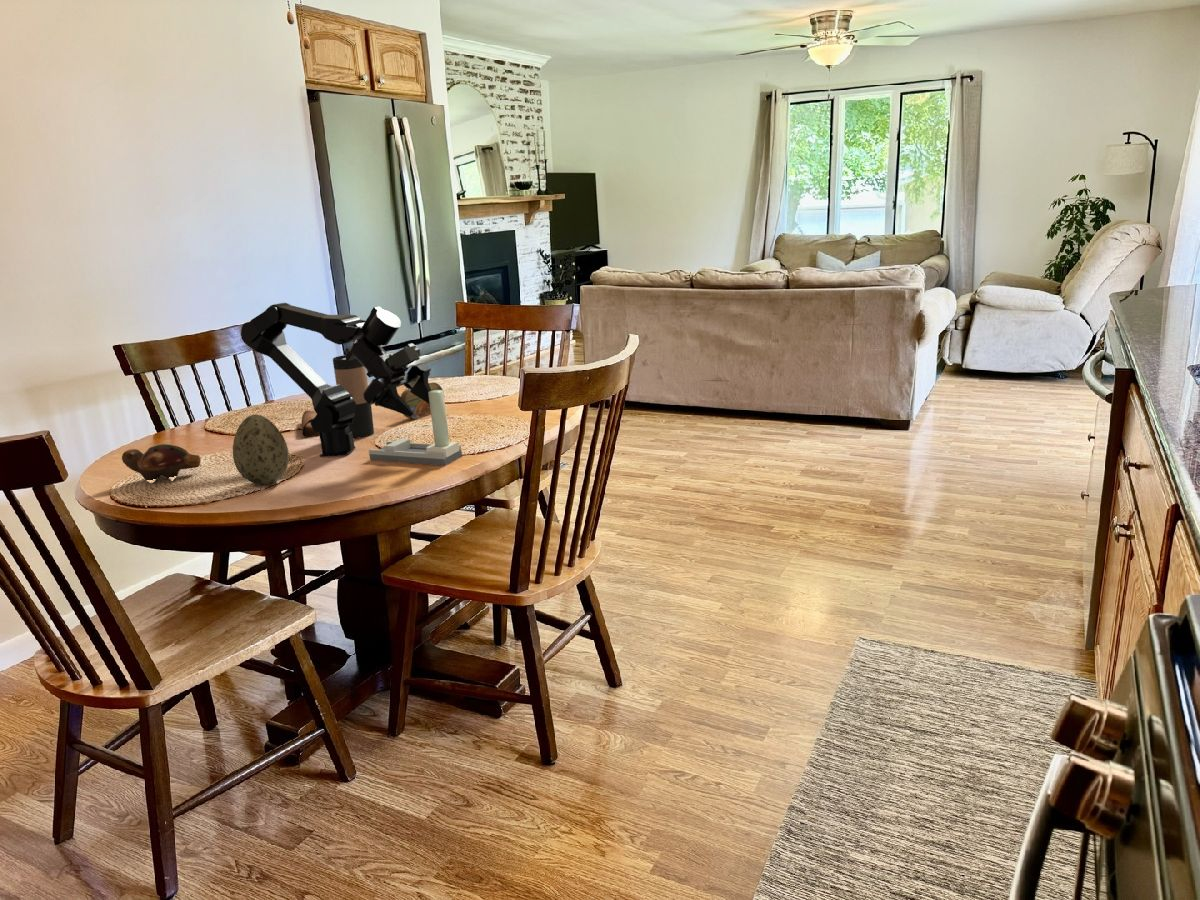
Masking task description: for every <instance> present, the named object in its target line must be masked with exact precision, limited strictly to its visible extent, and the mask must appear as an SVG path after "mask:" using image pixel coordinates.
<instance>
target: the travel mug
mask: <svg viewBox="0 0 1200 900" xmlns="http://www.w3.org/2000/svg"><path fill="white" fill-rule="evenodd" d="M332 364H333V370H334V378H335V386H336V385H339V384H340V385H342V386H343V387H344V388H345V390H346V391H347V392H348V393H350V394H352V395H353V396H351V397H352V398H353V399H354V401H355V403H356V413H355V415H354V421H353V423H352V424H349V428H350V431H352V434H353V439H362V438H366V437H369V436H373V435H374V434H375V429H374V420H373V410H372V405H369V404H368V403H367V402H366V401H365V400H364V395H363V393H364V392H365V390H366V389H367V387H368V386H369V381H368V376H367V375H366V374H367V369H366V368H365V367H364V366H363V365H362V364H361V363H360V362H359V361H358V360H357V359H352V360H349V361H346V354H344V355H338V356H335V357H333V358H332Z"/></svg>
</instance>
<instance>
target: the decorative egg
mask: <svg viewBox="0 0 1200 900" xmlns="http://www.w3.org/2000/svg"><path fill="white" fill-rule="evenodd" d="M288 447H289V446H288V444H287V441H286V439H285V437H284V436H283V434H282V433H281V431H280V429H279V428H278V427H277V426H276V425H275V424H274V423H273V422H272V421H271V420H270V419H268V418H267V417H265V416H263V415H260V414H251V415H248V416H247V417H245V419H243V420H242V421H241V423H240V424H239V426H238V428H237V430H236V431H235V435H234V439H233V444H232V458H233V462H234V466H235V468H236V470H237V471H238V473H239V474H240V475H241V477H243V478H244V479H245V480H247V481H249V482H250V483H252V484H254V485H259V484H267V485H270V484H269V483H271V484H273V483H275V482H277V481H279V479H281V478H282V477H283V475H284V474H285V472H286V470H287V468H288V465H289V462H290V461H289V460H290V454H289V452H290V451H289V448H288Z"/></svg>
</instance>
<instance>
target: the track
mask: <svg viewBox="0 0 1200 900" xmlns="http://www.w3.org/2000/svg"><path fill="white" fill-rule="evenodd" d="M432 444H433V443H424V442H411V438H399V439H397V440H395V441H393V440H392V441H389V440H387V441H386V445H384V447H381V448H379V449H368V454H369V455H368V456H369V460H370V461H372V462H373V461H377V462H389V463H400V464H401V463H402V464H415V465H417V464H418V465H428V466H429V465H430V466H443V467H445V466H448V465H449V464H451V463H452V462H455V461H456V460H459V459H460V458H462V457H463V450H462V445H459V451H458V452H456V453H454V454H452V455H450V456H448V457H447V458H446V457H445V454H436V453H427V450H426V447H428V446H430V445H432Z"/></svg>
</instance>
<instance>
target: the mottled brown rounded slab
mask: <svg viewBox="0 0 1200 900" xmlns="http://www.w3.org/2000/svg"><path fill="white" fill-rule="evenodd" d="M428 383H429V386H430V388H431V391H434V390H443V387H442V386H441V385H440V384H439V383H437V382H433V381H432V382H428ZM410 391H411V389H408V388H406V389H405V390H403V391H402V393H401V395H400V397H401V398H402V399H403V400H404V402H405V403H406V404H407V405H408V406H409V407H410V409H411V410H412V412H413V415H412V416H411V417H409V416H407V415H404V414H402V415H403V416H404V417H405V418H408V419H413V420H414V419H415V420H419V419H423V418H424V417H428V416H430V415H431V410H430V404H429V403H427V402H425V401H424V400H422V399H421V398H419V397H417V396H416V395H414V394H412V393H411V392H410ZM443 393H444V391H443ZM444 394H445V393H444Z"/></svg>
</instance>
